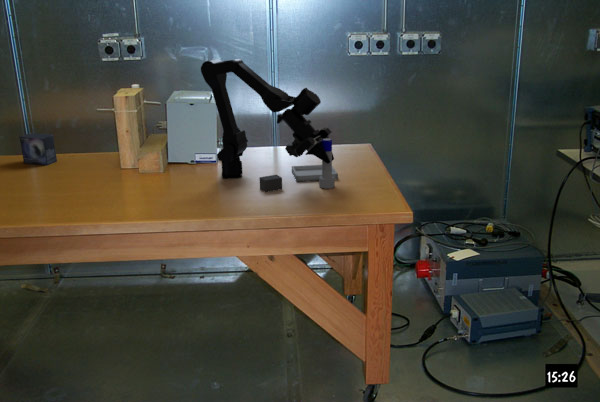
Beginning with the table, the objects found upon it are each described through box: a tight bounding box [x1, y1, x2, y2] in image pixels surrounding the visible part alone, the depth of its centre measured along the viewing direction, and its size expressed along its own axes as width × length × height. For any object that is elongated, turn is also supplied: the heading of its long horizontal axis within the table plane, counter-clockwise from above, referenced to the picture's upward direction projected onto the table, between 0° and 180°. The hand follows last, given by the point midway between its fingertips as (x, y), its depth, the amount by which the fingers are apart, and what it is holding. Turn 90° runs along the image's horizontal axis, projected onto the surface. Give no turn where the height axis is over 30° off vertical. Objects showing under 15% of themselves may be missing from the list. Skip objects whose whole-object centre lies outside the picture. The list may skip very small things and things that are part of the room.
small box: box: [19, 132, 58, 166], centre depth 232 cm, size 11×6×10 cm, turn 73°
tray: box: [291, 164, 339, 182], centre depth 213 cm, size 14×12×2 cm
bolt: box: [318, 138, 336, 190], centre depth 199 cm, size 16×5×5 cm
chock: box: [259, 174, 283, 193], centre depth 200 cm, size 6×4×4 cm, turn 118°
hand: (331, 161), depth 198 cm, fingers closed on bolt, 3 cm apart
